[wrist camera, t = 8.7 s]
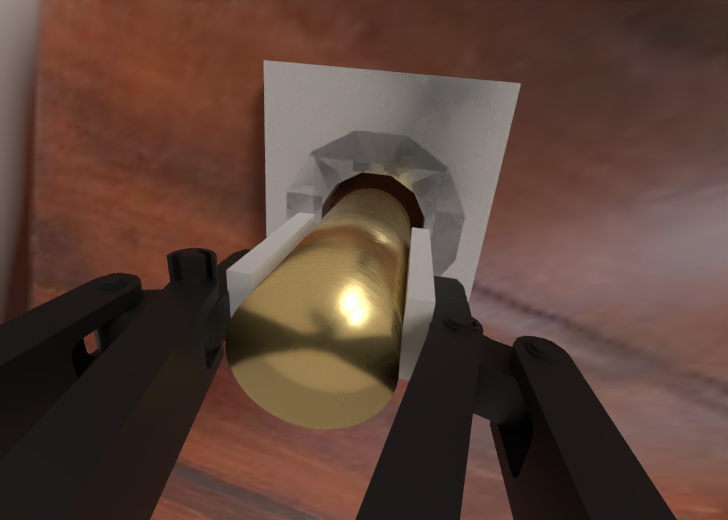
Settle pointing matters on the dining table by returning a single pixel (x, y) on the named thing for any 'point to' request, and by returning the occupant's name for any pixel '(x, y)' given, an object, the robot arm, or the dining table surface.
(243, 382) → the gold metal cylinder
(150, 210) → the dining table surface
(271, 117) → the plate
